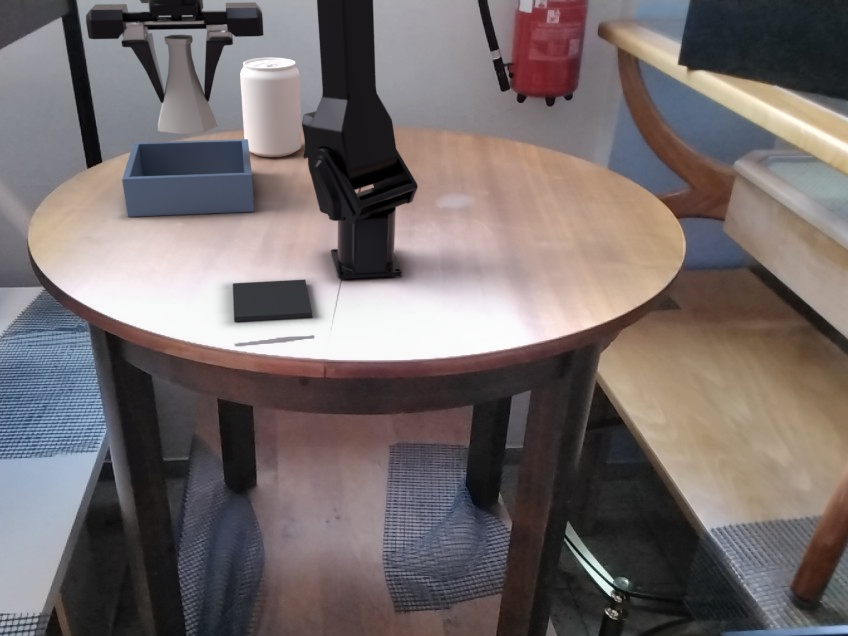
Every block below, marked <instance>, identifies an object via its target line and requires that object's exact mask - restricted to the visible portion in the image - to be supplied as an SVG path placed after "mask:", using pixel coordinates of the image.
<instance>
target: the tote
mask: <svg viewBox="0 0 848 636" xmlns="http://www.w3.org/2000/svg"><path fill="white" fill-rule="evenodd" d="M125 165H126V166H125V169H124V172H123V175H122V178H121V181H122V189H123V195H124V203H125V209H126V216H127V218H132V217H133V218H135V217H159V216H181V215H182V216H183V215H184V216H185V215H204V214H205V215H206V214H233V213H251V212H252V213H254V212H255V204H254V203H255V201H254V186H253V185H254V184H253V172H252V163H251V154H250V152H249V145H248V139H244V138H242V139H239V138H238V139H209V140H208V139H206V140H203V139H202V140H174V141H173V140H171V141H142V142H140V141H139V142H133V143H132V147H131V149H130V152H129V156H128V159H127V162H126V164H125Z"/></svg>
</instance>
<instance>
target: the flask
mask: <svg viewBox="0 0 848 636" xmlns="http://www.w3.org/2000/svg"><path fill="white" fill-rule="evenodd" d="M193 40H194V39H193V35H192V34H191V35H190V34H169V35H166V36H164V43H165V44H166V45H167V50H168V51H167V52H168V69H167V77H166V84H165V88H164V102H163V103H161V107H160V111H159V117H158V122H157V131H158V132H162V133H163V132H164V133H170V134H177V135H183V134H202V133H206V132H208V131H211V130H214V129H215V128H218V123H217V122H218V121H217V120H216V117H215V114H214V112H213V110H212V108H211V105H210V103H209V102H207V100H206V99H205V92H204V88H203V86H202V84H201V81H200V78H199V76H198V73H197V72H196V67H195V64H194V63H195V62H194V60H193V55H192V53H193V52H192V44H193Z"/></svg>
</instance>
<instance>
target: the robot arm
mask: <svg viewBox="0 0 848 636" xmlns="http://www.w3.org/2000/svg"><path fill="white" fill-rule="evenodd" d="M139 1H140V3H141V4H148V11H129V8H128V6H127V4H126V3H110V4H109V3H108V4H107V3H106V4H105V3H104V4H101V3H100V4H99V3H98V4H95V5H93V6H92V7H91V8H90V9H89V11H88V12H87V14H86V15H85V24H86V31H87V36H88V39H89V40H119V38H120V37H121V36H122V40H121V43H120V44H121V47H123V48H130V49H131V50H132V51H133V53H134V55H135V57H136V58H137V60H138V61H139V62H140V64H141V66H142V67H143V69H144V70H145V73H146V75H147V76H148V79H149V80H150V83H151V85H152V87H153V89H154V91H155V93H156V95H157V98H158V100H159V101H160V104H162V103H163V102H164V93H165V88H164V84H163V79H162V75H161V71H160V67H159V63H158V58H157V53H156V49H155V42H154V36H153V32H150V31H160V30H161V31H163V30H167V31H169V30H206V37H205V58H204V59H205V61H204V62H205V63H204V84H203V91H204V94H205V99H206V100H207V102H208V103H209V102H210V98H211V93H212V89H213V84H214V79H215V74H216V70H217V67H218V65H219V61H220V58H221V56H222V53H223V50H224V48H225V46H233V45H234V38H238V37H239V38H240V37H241V38H244V37H263V36H264V17H263V11H262V9H261V7H260V6H259V4H258V3H257V2H254V1H253V2H225V10H203V9H204V1H203V0H139ZM316 8H317V24H318V39H319V54H320V57H319V58H320V69H321V70H320V71H321V88H322V92H321V93H322V95H321V98H320V101H319V103H318V106H317V107H316V110H315V111H311V112H306V113H304V114H303V116H302V121H301V129H302V133H303V139H304V140H303V141H304V148H303V149H304V150H303V153H302V154H303V155H302V157H303V159H304V160H305V159H307V166H308V171H309V174H310V178H311V181H312V185H313V189H314V193H315V197H316V202H317V204H318V208H319V211H320V213H322V214H324V215H327V216H328V219H329V220H331V221H333V222H337V248H333V249H331V250H330V257H331V260H332V263H333V267H334V270H335V274H336V277H337V278H338V279H339V280H350V279H351V280H353V279H370V278H389V277H400V276H402V275H403V268H402V266H401V265H400V261H399V260H398V258H397V256H396V254H395V237H396V236H395V235H396V215H397V213H396V211H397V208H398V207H400V206H403V205H405V204H407V205H408V204H411V203H413V201H414V199H415V196H416V193H417V190H418V188H419V187H418V182H417V181H416V179H415V178H414V176H413V174H412V173H411V171H410V169H409V167H408V166H407V164H406V163H405V161H404V159H403V157H402V155H401V154H400V152H399V151H398V149H397V146H396V137H395V131H394V125H393V119H392V116H391V115H390V114H389V112H388V109H387V108H386V107H385V105H384V102H383V101H382V100H381V98H380V96H379V94H378V92H377V91H378V90H377V80H376V77H377V76H376V49H375V47H376V45H375V20H374V18H375V17H374V16H375V15H374V13H375V12H374V0H316ZM233 37H234V38H233ZM371 185H372V186H373V187H370V188H367V189H365V190H361V191H358V192H356V191H357V190H359V189H362V188H366V187H368V186H371Z"/></svg>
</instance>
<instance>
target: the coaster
mask: <svg viewBox="0 0 848 636" xmlns="http://www.w3.org/2000/svg"><path fill="white" fill-rule="evenodd" d="M309 296H310V295H309V290H308V286H307V281H306V279H288V280H287V279H286V280H271V281H251V282H233V283H232V299H233V300H232V302H233V322H234V323H235V322H236V323H237V322H254V321H271V320H272V321H273V320H287V319H289V320H290V319H305V318H306V319H307V318H313V309H312V305H311V301H310V297H309Z"/></svg>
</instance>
